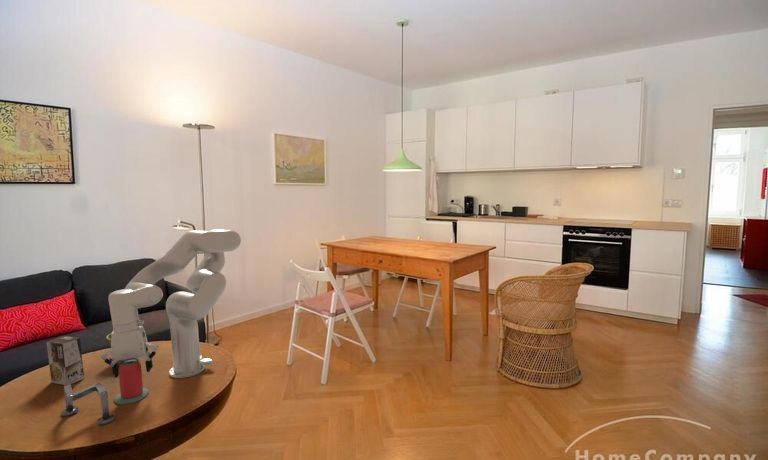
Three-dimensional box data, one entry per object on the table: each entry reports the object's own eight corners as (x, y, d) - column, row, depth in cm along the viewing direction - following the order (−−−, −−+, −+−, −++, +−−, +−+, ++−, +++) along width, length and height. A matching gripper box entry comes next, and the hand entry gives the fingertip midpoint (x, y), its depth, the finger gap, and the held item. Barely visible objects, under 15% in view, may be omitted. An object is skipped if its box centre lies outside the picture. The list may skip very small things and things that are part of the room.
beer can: (132, 400, 133) (129, 366, 132) (116, 398, 135) (112, 365, 133) (147, 390, 140) (145, 358, 138) (131, 389, 141) (128, 356, 140)
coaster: (151, 387, 143) (151, 385, 143) (143, 401, 134) (143, 399, 134) (120, 391, 140) (120, 390, 140) (109, 406, 131) (109, 404, 131)
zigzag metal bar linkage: (126, 401, 134) (124, 374, 133) (111, 423, 121) (109, 394, 120) (65, 410, 129) (62, 382, 128) (43, 434, 116) (40, 404, 115)
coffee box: (85, 378, 151) (81, 337, 149) (67, 386, 145) (62, 343, 143) (68, 374, 154) (64, 334, 152) (50, 382, 148) (45, 341, 146)
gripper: (157, 318, 141) (163, 363, 143) (101, 325, 136) (108, 372, 138) (152, 326, 133) (158, 373, 136) (92, 334, 129) (100, 383, 131)
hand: (133, 372), depth 137 cm, fingers open, 9 cm apart
